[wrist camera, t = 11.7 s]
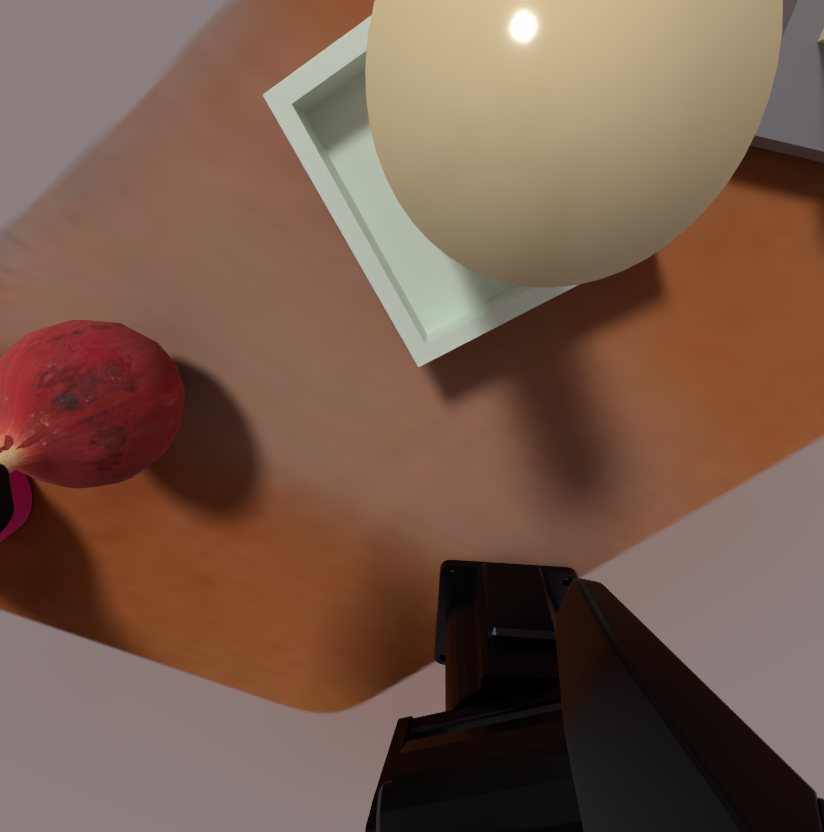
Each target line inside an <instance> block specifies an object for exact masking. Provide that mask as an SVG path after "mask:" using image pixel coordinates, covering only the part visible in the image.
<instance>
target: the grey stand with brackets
mask: <svg viewBox="0 0 824 832" xmlns="http://www.w3.org/2000/svg"><path fill="white" fill-rule="evenodd" d="M750 146H753V147H757V148H761V149H766V150H770V151H774V152H778V153H783V154H787V155H791V156H795V157H800V158H804V159H808V160H812V161H816V162H821V163H824V0H783V17H782V37H781V45H780V52H779V59H778V66H777V70H776V74H775V78H774V82H773V86H772V90H771V94H770V98H769V100H768V103H767V106H766V108H765V111H764V114H763V117H762V119H761V122H760V125H759V127H758V130H757V132H756V134H755V136H754V138H753V140H752V142H751V144H750Z"/></svg>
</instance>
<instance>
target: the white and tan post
mask: <svg viewBox="0 0 824 832" xmlns="http://www.w3.org/2000/svg"><path fill="white" fill-rule="evenodd" d="M782 17H783V0H375V2H374V7H373V12H372V17H371V22H370V27H369V32H368V41H367V52H366V64H365V78H366V101H367V109H368V116H369V124H370V129H371V133H372V137H373V141H374V145H375V149H376V153H377V156H378V158H379V161H380V164H381V166H382V169H383V172H384V174H385V177H386V179H387V181H388V183H389V185H390V187H391V189H392V191H393V193H394V195H395V196H396V198H397V200H398V202H399V204H400V205H401V206H402V208H403V209H404V211H405V212H406V214H407V215H408V217H409V218H410V219H411V221H412V222H413V223H414V225H415V226H416V227H417V228H418V229H419V230H420V231H421V232H422V233H423V234H424V236H425V237H426V238H427V239H428V240H429V241H430V242H431V243H433V244H434V245H435V246H436V247H437V248H439V249H440V250H441V251H442V252H443V253H444V254H446V255H447V256H448V257H450V258H452V259H453V260H455V261H456V262H458V263H459V264H461V265H463V266H464V267H466V268H468V269H470V270H472V271H474V272H477V273H479V274H481V275H483V276H485V277H488V278H491V279H495V280H498V281H501V282H505V283H508V284H514V285H520V286H527V287H550V288H554V287H563V286H572V285H579V284H583V283H587V282H592V281H596V280H600V279H603V278H605V277H608V276H611V275H613V274H616V273H619V272H621V271H624V270H626V269H628V268H630V267H632V266H634V265H636V264H638V263H640V262H641V261H643V260H645V259H647V258H649V257H650V256H652V255H653V254H655V253H656V252H658V251H659V250H661V249H662V248H664V247H665V246H667V245H668V244H669V243H671V242H672V241H673V240H674V239H675V238H677V237H678V236H679V235H680V234H681V233H683V232H684V231H685V230H686V229H687V228H689V227H690V226H691V225H692V224H693V223H694V222H695V221H696V220H697V218H698V217H699V216H700V215H701V214H702V213H703V212H704V211H705V210H706V209H707V208H708V207H709V206H710V205H711V204H712V202H713V201H714V200H715V198H716V197H717V196H718V195H719V193H720V192H721V191H722V189H723V188H724V187H725V186H726V184H727V183H728V182H729V180H730V178H731V177H732V175H733V174H734V172H735V170H736V169H737V167H738V166H739V164H740V162H741V161H742V159H743V158H744V156H745V154H746V152H747V150H748V148H749V146H750V144H751V142H752V140H753V138H754V136H755V134H756V132H757V130H758V127H759V125H760V122H761V119H762V117H763V114H764V111H765V108H766V106H767V103H768V100H769V98H770V94H771V90H772V86H773V82H774V78H775V74H776V70H777V66H778V59H779V52H780V45H781V37H782Z"/></svg>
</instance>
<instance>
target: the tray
mask: <svg viewBox="0 0 824 832" xmlns="http://www.w3.org/2000/svg"><path fill="white" fill-rule="evenodd" d="M371 17H372V15H371V16H370V17H368V18H367V19H366V20H364V21H363V22H362V23H360V24H359V25H358V26H356V27H355V28H353V29H352V30H351V31H349V32H348V33H347V34H345V35H344V36H342V37H341V38H340V39H338V40H337V41H336V42H334V43H333V44H331V45H330V46H329V47H327V48H326V49H325V50H323V51H322V52H321V53H319V54H318V55H316V56H315V57H314V58H312V59H311V60H310V61H308V62H307V63H305V64H304V65H303V66H301V67H300V68H299V69H297V70H296V71H294V72H293V73H292V74H290V75H289V76H288V77H286V78H285V79H284V80H282V81H281V82H279V83H278V84H277V85H275V86H274V87H273V88H271V89H270V90H268V91H267V92H266V93H264V94H263V96H264V98H265V100H266V102H267V103H268V105H269V107H270V109H271V110H272V112H273V114H274V116H275V117H276V119H277V121H278V123H279V124H280V126H281V128H282V130H283V131H284V133H285V135H286V137H287V138H288V140H289V142H290V144H291V145H292V147H293V149H294V151H295V152H296V154H297V156H298V158H299V159H300V161H301V163H302V165H303V166H304V168H305V170H306V172H307V173H308V175H309V177H310V179H311V180H312V182H313V184H314V186H315V187H316V189H317V191H318V193H319V194H320V196H321V198H322V200H323V201H324V203H325V205H326V207H327V208H328V210H329V212H330V214H331V215H332V217H333V219H334V221H335V222H336V224H337V226H338V228H339V229H340V231H341V233H342V235H343V236H344V238H345V240H346V242H347V243H348V245H349V247H350V249H351V250H352V252H353V254H354V255H355V257H356V259H357V261H358V262H359V264H360V266H361V268H362V269H363V271H364V273H365V275H366V276H367V278H368V280H369V282H370V283H371V285H372V287H373V289H374V290H375V292H376V294H377V296H378V297H379V299H380V301H381V303H382V304H383V306H384V308H385V310H386V311H387V313H388V315H389V317H390V318H391V320H392V322H393V324H394V325H395V327H396V329H397V331H398V332H399V334H400V336H401V338H402V339H403V341H404V343H405V345H406V346H407V348H408V350H409V352H410V353H411V355H412V357H413V359H414V360H415V362H416V364H417V366H418V367H420V366H422V365H424V364H426V363H428V362H430V361H432V360H434V359H436V358H438V357H440V356H442V355H444V354H446V353H447V352H449V351H451V350H453V349H455V348H457V347H459V346H461V345H463V344H465V343H467V342H469V341H471V340H473V339H475V338H477V337H478V336H480V335H482V334H484V333H486V332H488V331H490V330H492V329H494V328H496V327H498V326H500V325H502V324H504V323H506V322H508V321H509V320H511V319H513V318H515V317H517V316H519V315H521V314H523V313H525V312H527V311H529V310H531V309H533V308H535V307H537V306H539V305H541V304H542V303H544V302H546V301H548V300H550V299H552V298H554V297H556V296H558V295H560V294H562V293H564V292H566V291H568V290H570V289H572V288H573V287H575V286H577V285H572V286H563V287H554V288H550V287H527V286H520V285H514V284H508V283H505V282H501V281H498V280H495V279H491V278H488V277H485V276H483V275H481V274H479V273H477V272H474V271H472V270H470V269H468V268H466V267H464V266H463V265H461V264H459V263H458V262H456V261H455V260H453V259H452V258H450V257H448V256H447V255H446V254H444V253H443V252H442V251H441V250H440V249H439V248H437V247H436V246H435V245H434V244H433V243H431V242H430V241H429V240H428V239H427V238H426V237H425V236H424V234H423V233H422V232H421V231H420V230H419V229H418V228H417V227H416V226H415V225H414V223H413V222H412V221H411V219H410V218H409V217H408V215H407V214H406V212H405V211H404V209H403V208H402V206H401V205H400V204H399V202H398V200H397V198H396V196H395V195H394V193H393V191H392V189H391V187H390V185H389V183H388V181H387V179H386V177H385V174H384V172H383V169H382V166H381V164H380V161H379V158H378V156H377V153H376V149H375V145H374V141H373V137H372V133H371V129H370V124H369V116H368V109H367V101H366V78H365V64H366V52H367V41H368V32H369V27H370V22H371Z"/></svg>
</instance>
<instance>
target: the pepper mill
mask: <svg viewBox="0 0 824 832" xmlns="http://www.w3.org/2000/svg"><path fill="white" fill-rule="evenodd" d="M9 474H10V480H11V487H12V493H13V499H14V506H15V509H14V514H13V517H12V519H11V521H10V523H9V524H8V525H7V527H6V528H5V529H4V530H3V531H2V533H1V534H0V542H1V541H2V540H4V539H5V538H6V537H7V536H9V535H10V534H11V533H13V532H14V531H15V530H17V529H18V528H19V527H20V526H21V525H22V524H23V523H24V522H25V521H26V519H27V518H28V516H29V514H30V511H31V506H32V496H33V495H32V491H31V487H30V483H29V480H28V478H27V476H26V474H25V473H23V472H21V471H19V470H15V471H13V472H11V473H9Z"/></svg>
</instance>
